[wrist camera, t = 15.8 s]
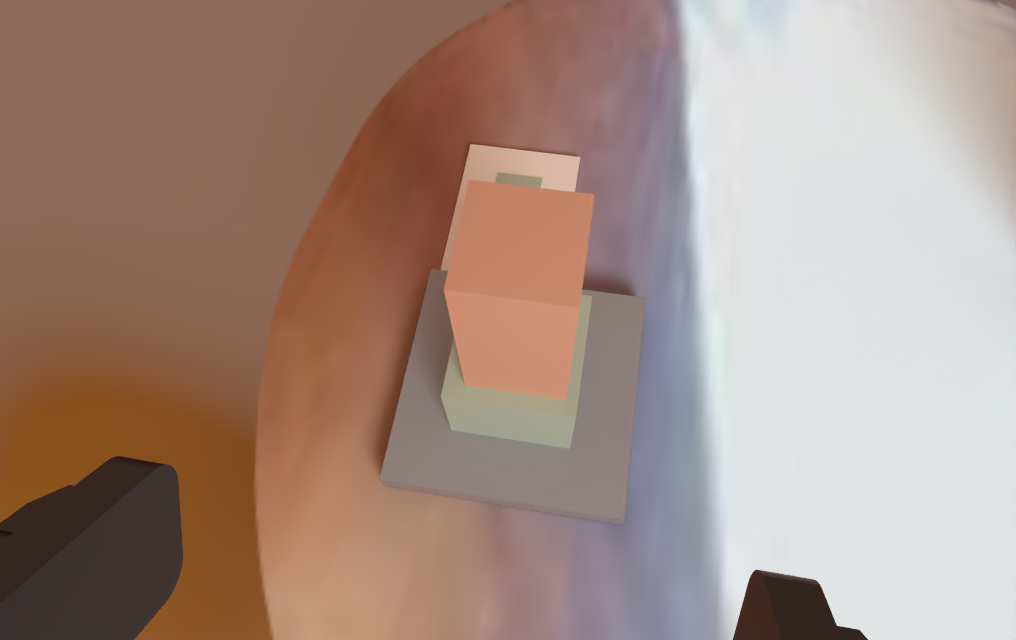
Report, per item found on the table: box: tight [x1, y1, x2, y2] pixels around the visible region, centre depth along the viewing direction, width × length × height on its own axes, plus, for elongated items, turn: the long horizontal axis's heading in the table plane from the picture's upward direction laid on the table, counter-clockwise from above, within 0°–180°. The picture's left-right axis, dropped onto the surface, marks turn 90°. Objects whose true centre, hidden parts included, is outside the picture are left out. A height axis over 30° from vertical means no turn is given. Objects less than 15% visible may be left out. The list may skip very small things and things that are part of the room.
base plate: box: [380, 269, 646, 525], centre depth 38 cm, size 12×12×2 cm
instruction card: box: [441, 144, 580, 271], centre depth 43 cm, size 10×7×1 cm
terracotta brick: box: [444, 180, 595, 400], centre depth 28 cm, size 4×4×9 cm
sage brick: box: [441, 295, 592, 449], centre depth 35 cm, size 6×6×5 cm
